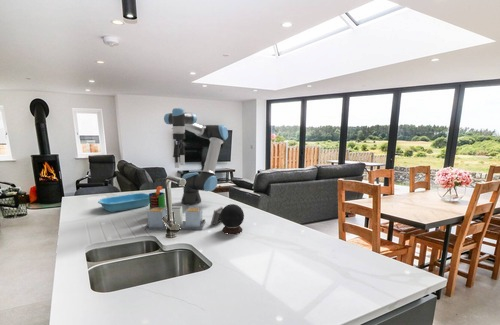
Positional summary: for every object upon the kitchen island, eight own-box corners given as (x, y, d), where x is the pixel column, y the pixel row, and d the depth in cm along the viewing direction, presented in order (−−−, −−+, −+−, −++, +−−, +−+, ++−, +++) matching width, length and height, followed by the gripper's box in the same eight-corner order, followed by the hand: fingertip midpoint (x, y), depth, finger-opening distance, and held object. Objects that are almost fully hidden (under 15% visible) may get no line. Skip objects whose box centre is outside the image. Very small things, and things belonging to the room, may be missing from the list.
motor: (146, 218, 166) (145, 187, 164) (156, 214, 175) (154, 185, 172) (160, 220, 163) (158, 189, 161) (169, 216, 171) (167, 186, 169)
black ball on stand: (215, 230, 147) (215, 204, 145) (233, 224, 156) (233, 200, 154) (231, 237, 137) (230, 209, 136) (248, 230, 147) (248, 204, 145)
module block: (172, 222, 156) (171, 205, 155) (182, 222, 156) (182, 205, 155) (169, 226, 150) (169, 208, 149) (180, 226, 150) (179, 208, 149)
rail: (152, 223, 158) (151, 205, 157) (205, 222, 159) (204, 205, 158) (145, 229, 148) (144, 211, 146) (202, 229, 148) (201, 211, 147)
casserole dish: (145, 199, 214) (145, 191, 213) (157, 205, 198) (157, 195, 197) (94, 208, 188) (93, 199, 187) (104, 216, 172) (103, 205, 172)
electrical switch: (218, 219, 165) (219, 205, 163) (225, 221, 163) (226, 207, 161) (210, 224, 156) (211, 209, 155) (218, 226, 154) (219, 211, 153)
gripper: (178, 133, 179) (179, 163, 182) (167, 133, 154) (168, 168, 157) (189, 133, 179) (189, 163, 182) (179, 133, 154) (180, 168, 157)
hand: (179, 166), depth 169 cm, fingers open, 13 cm apart
